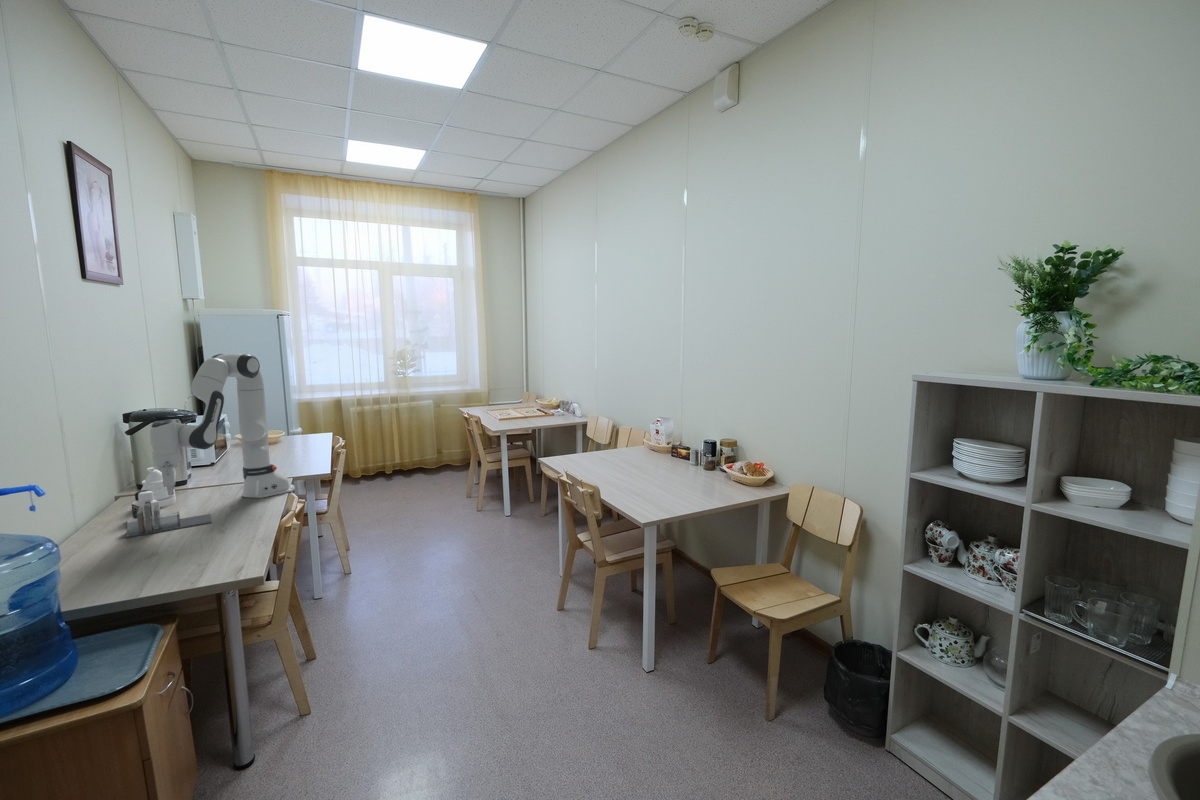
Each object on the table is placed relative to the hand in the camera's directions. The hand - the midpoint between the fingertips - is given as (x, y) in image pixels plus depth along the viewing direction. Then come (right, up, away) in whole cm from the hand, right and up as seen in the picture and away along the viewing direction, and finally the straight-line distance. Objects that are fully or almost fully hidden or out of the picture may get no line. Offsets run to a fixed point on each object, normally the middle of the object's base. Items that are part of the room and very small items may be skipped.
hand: (171, 491), depth 213 cm
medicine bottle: (-19, -13, +10) cm, 26 cm away
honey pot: (-29, -11, +28) cm, 42 cm away
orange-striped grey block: (-5, -14, -2) cm, 15 cm away
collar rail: (-1, -15, +1) cm, 15 cm away
